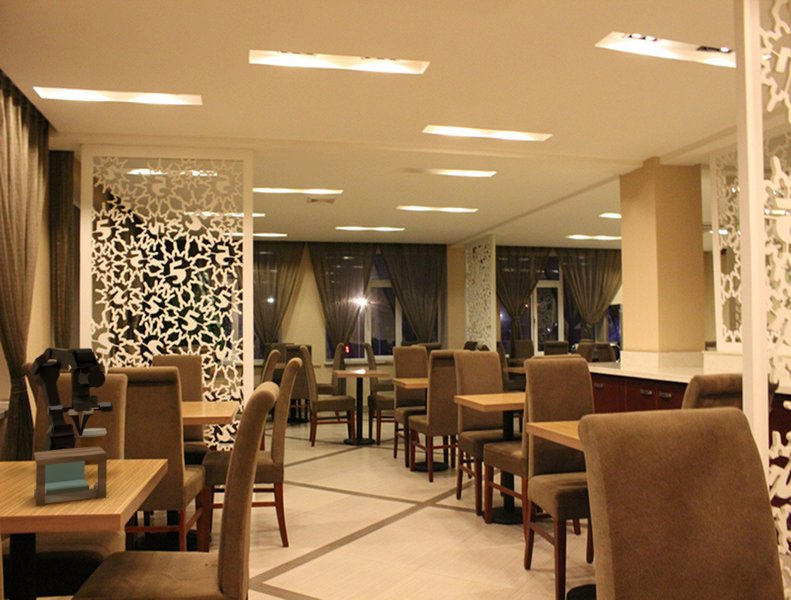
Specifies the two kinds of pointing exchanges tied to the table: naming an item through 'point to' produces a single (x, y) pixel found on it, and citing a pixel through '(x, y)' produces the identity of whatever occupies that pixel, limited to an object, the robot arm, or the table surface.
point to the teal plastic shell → (65, 477)
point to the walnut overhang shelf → (67, 457)
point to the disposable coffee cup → (93, 440)
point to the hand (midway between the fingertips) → (80, 435)
